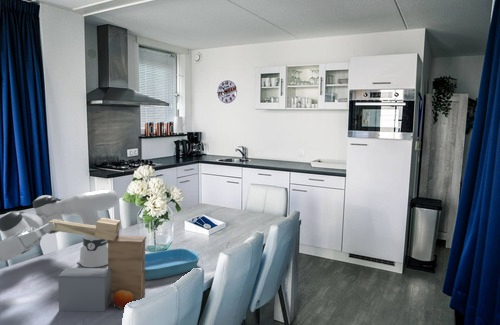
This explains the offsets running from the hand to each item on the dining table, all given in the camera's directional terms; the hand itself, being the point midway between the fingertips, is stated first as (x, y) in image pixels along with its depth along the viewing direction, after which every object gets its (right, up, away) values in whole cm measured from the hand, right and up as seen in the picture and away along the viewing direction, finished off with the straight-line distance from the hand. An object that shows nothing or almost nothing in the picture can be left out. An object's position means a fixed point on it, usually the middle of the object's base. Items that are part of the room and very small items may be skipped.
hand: (58, 222), depth 154 cm
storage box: (+14, -34, -5) cm, 37 cm away
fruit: (+29, -34, -4) cm, 45 cm away
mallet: (+10, -5, +1) cm, 11 cm away
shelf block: (+28, -33, +5) cm, 43 cm away
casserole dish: (+38, -31, +34) cm, 60 cm away
